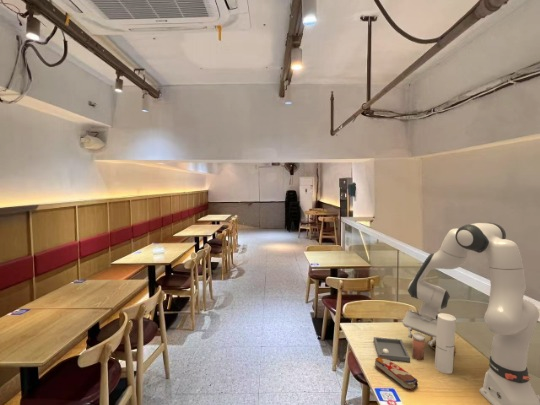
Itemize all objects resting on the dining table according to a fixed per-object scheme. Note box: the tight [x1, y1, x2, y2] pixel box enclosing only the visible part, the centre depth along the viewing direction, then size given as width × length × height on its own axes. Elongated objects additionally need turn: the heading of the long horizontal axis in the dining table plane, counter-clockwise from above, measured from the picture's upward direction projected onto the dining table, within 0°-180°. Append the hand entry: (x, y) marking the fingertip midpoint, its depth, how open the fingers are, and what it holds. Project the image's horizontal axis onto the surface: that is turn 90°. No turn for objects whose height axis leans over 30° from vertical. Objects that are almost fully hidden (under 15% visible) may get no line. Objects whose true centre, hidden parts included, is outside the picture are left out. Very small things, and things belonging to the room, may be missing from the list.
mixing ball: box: [382, 349, 389, 354], centre depth 147 cm, size 3×3×3 cm
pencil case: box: [374, 357, 419, 390], centre depth 131 cm, size 11×20×5 cm, turn 13°
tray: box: [373, 336, 411, 364], centre depth 150 cm, size 16×14×2 cm
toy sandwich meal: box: [427, 337, 457, 354], centre depth 154 cm, size 12×14×5 cm
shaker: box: [411, 332, 426, 362], centre depth 145 cm, size 5×5×11 cm
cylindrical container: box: [434, 312, 457, 375], centre depth 136 cm, size 7×7×25 cm
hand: (419, 341), depth 146 cm, fingers open, 8 cm apart
